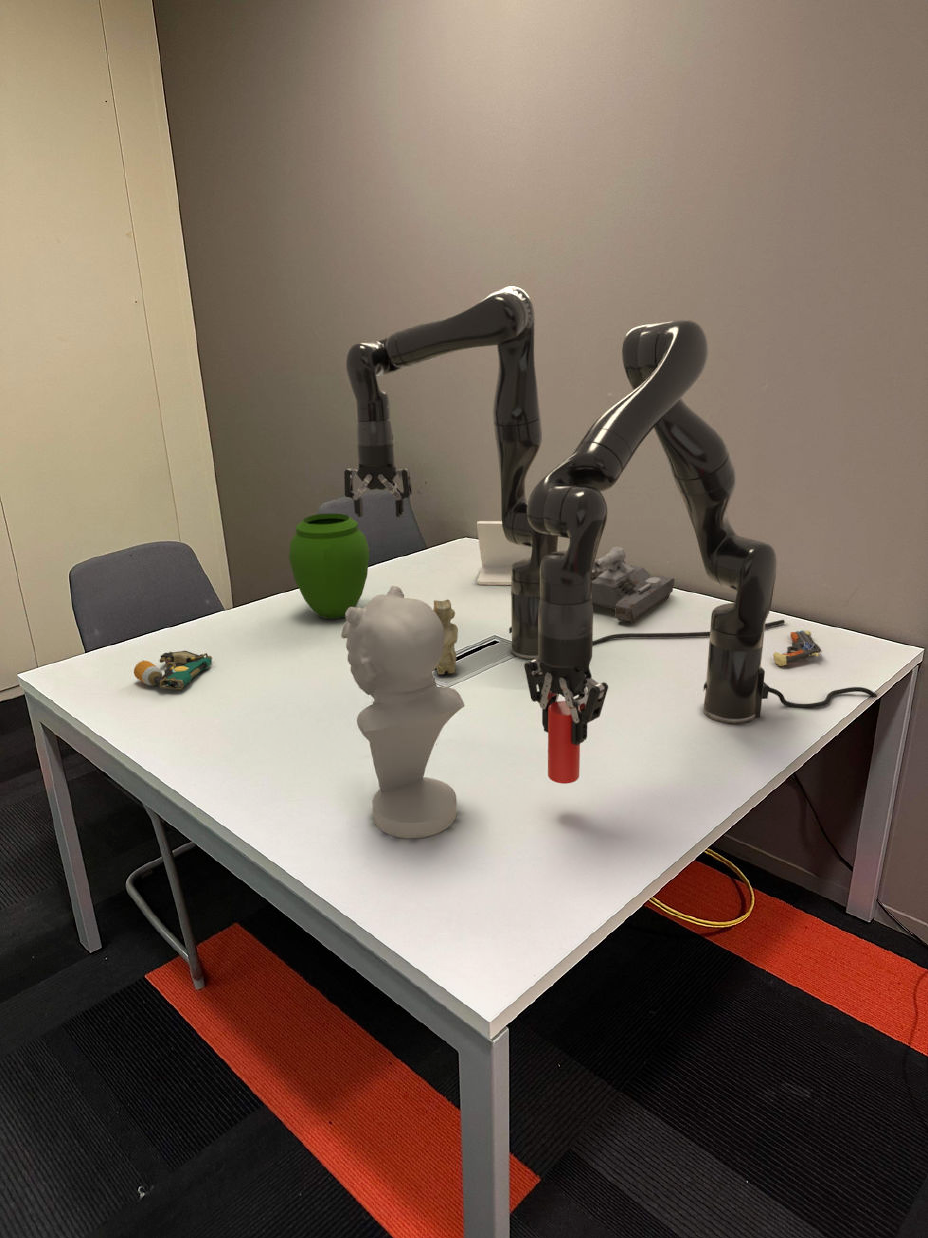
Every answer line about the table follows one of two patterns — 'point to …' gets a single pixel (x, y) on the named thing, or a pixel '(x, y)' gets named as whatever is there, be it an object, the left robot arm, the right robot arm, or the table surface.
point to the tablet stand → (502, 553)
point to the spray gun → (172, 669)
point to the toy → (627, 587)
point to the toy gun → (798, 649)
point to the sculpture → (447, 636)
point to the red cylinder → (562, 745)
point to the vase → (329, 563)
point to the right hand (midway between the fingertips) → (564, 736)
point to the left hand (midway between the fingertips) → (379, 516)
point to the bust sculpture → (402, 709)
